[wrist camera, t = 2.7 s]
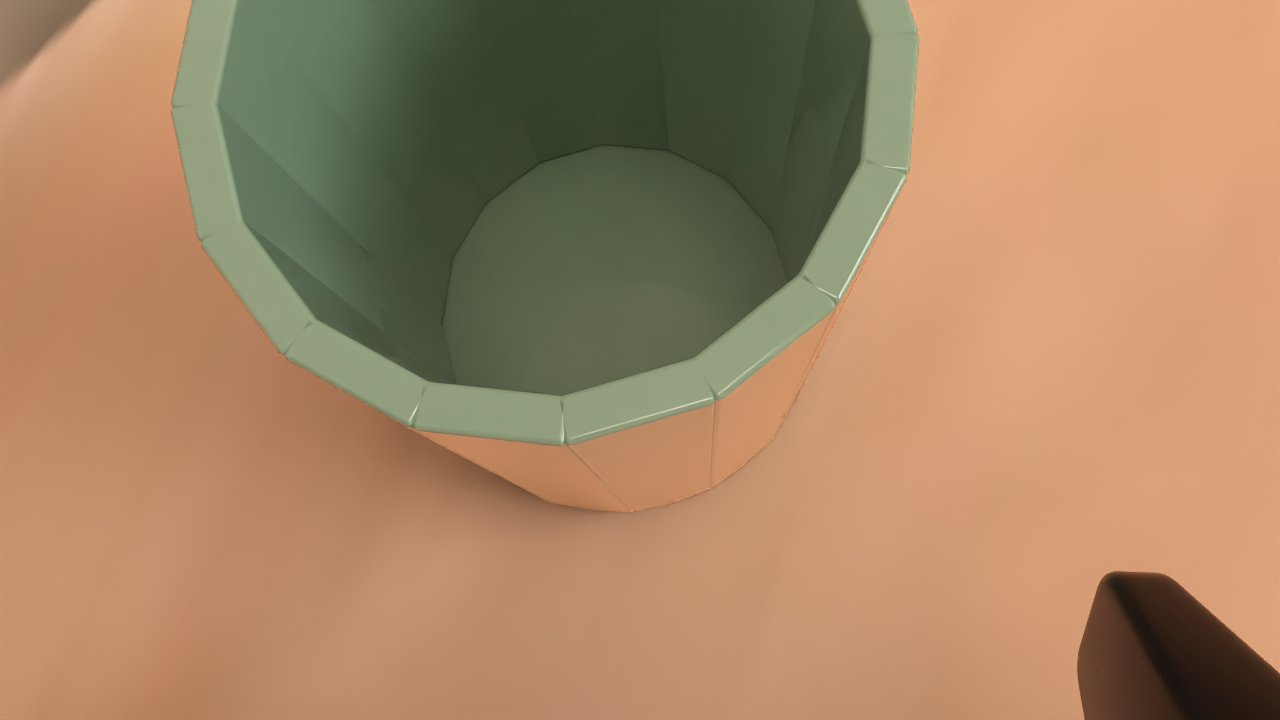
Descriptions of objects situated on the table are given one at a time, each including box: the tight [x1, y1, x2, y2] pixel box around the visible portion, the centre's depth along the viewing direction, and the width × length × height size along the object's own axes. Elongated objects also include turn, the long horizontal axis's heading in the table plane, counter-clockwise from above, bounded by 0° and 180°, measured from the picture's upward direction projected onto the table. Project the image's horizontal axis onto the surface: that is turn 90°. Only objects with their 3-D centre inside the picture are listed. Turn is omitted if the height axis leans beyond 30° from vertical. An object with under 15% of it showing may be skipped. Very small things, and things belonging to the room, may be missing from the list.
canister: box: [171, 0, 919, 512], centre depth 15 cm, size 7×7×10 cm
